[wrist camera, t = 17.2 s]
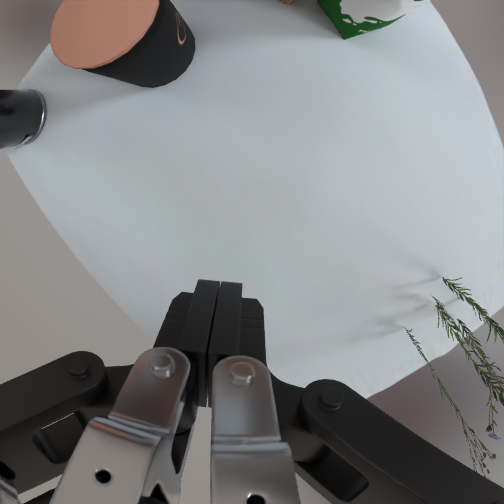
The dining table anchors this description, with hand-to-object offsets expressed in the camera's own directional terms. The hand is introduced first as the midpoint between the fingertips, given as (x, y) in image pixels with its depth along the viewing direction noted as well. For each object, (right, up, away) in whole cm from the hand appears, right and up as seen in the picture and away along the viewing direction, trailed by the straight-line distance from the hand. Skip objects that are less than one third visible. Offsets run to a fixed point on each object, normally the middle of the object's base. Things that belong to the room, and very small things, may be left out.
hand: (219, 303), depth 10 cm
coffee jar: (-11, +29, +21) cm, 38 cm away
